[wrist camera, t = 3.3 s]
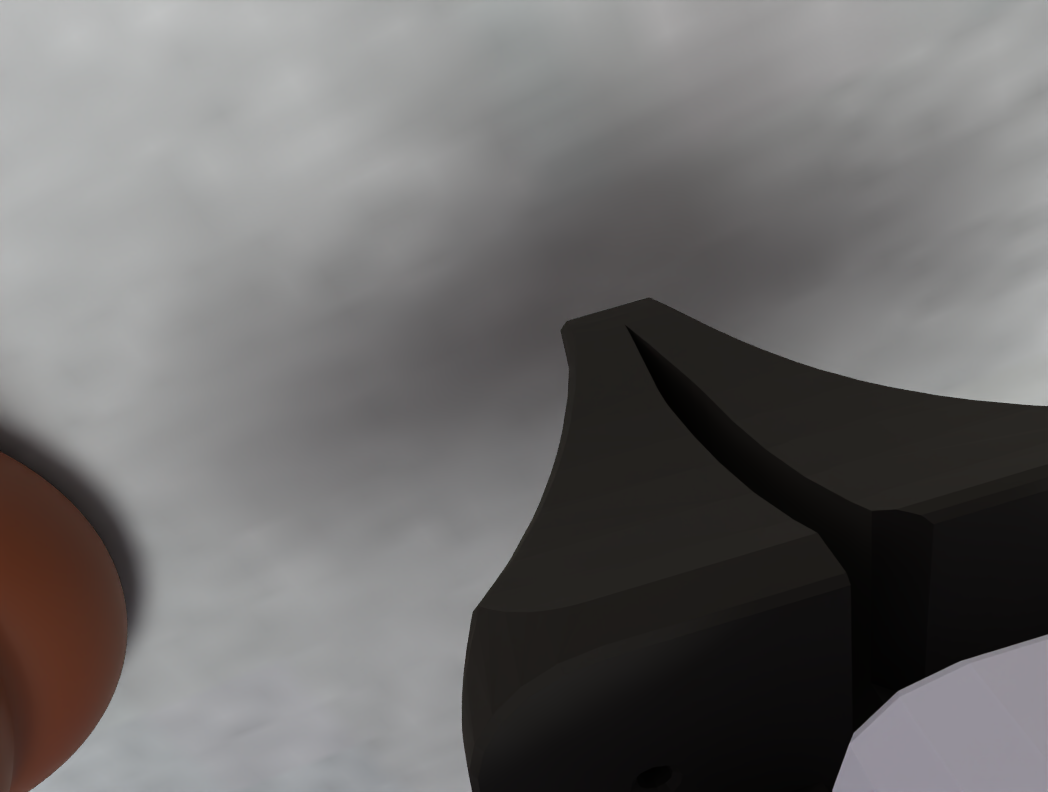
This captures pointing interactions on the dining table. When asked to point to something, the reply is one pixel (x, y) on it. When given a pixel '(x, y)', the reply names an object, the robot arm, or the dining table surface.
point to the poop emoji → (52, 628)
